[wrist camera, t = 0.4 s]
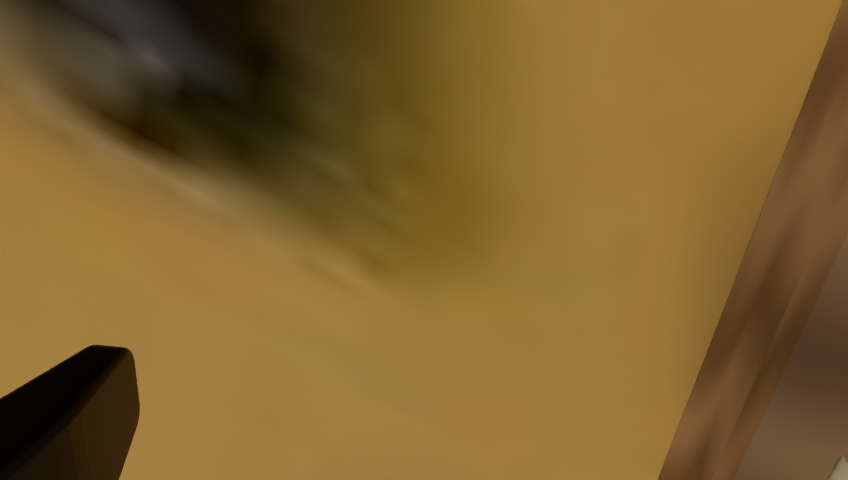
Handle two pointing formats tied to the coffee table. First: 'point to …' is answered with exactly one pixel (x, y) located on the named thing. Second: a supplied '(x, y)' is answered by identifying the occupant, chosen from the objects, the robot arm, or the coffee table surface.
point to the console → (784, 315)
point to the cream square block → (840, 469)
